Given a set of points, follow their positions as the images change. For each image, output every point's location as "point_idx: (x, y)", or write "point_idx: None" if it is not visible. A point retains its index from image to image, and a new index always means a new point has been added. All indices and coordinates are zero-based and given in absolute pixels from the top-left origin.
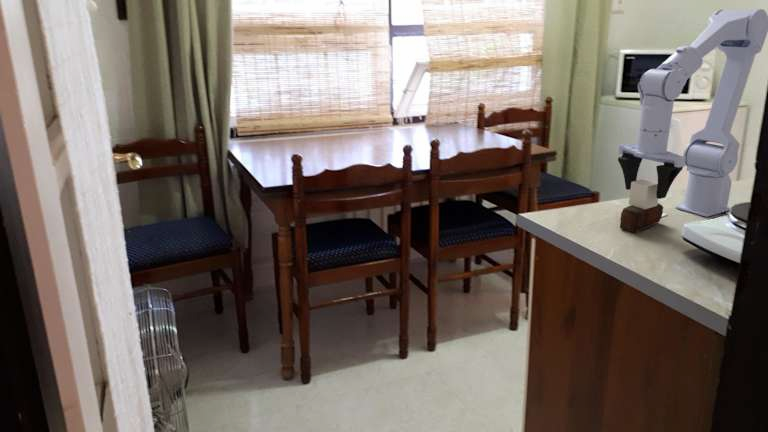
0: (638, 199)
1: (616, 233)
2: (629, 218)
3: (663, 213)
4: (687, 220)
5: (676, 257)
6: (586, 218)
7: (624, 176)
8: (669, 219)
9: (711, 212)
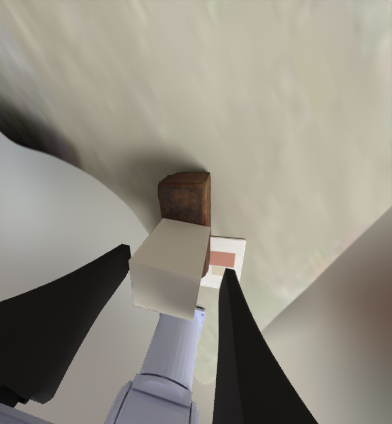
0: (177, 233)
1: (201, 141)
2: (184, 178)
3: (202, 284)
4: None
5: (59, 113)
6: (304, 181)
7: (246, 309)
8: None
9: None
